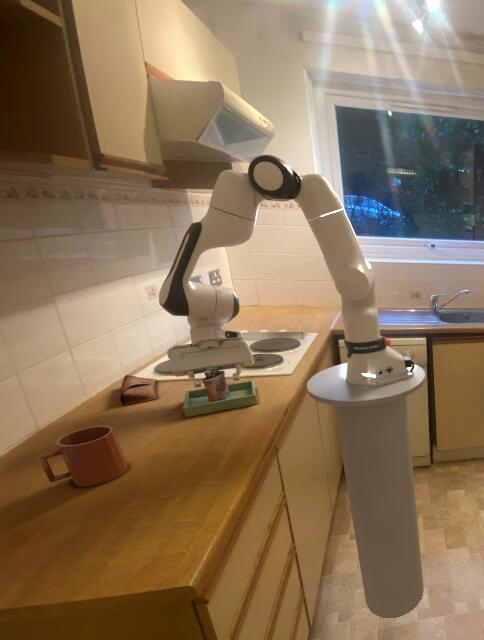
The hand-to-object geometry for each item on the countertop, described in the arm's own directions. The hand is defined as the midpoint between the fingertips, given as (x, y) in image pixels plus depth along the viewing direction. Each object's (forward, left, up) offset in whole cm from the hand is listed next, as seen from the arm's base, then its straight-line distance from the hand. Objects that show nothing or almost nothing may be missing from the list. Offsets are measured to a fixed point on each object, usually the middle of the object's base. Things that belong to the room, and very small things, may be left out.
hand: (217, 383), depth 124 cm
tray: (0, -1, -6) cm, 6 cm away
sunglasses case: (+21, -21, -6) cm, 31 cm away
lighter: (+1, -1, -6) cm, 6 cm away
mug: (+23, +30, -6) cm, 38 cm away
